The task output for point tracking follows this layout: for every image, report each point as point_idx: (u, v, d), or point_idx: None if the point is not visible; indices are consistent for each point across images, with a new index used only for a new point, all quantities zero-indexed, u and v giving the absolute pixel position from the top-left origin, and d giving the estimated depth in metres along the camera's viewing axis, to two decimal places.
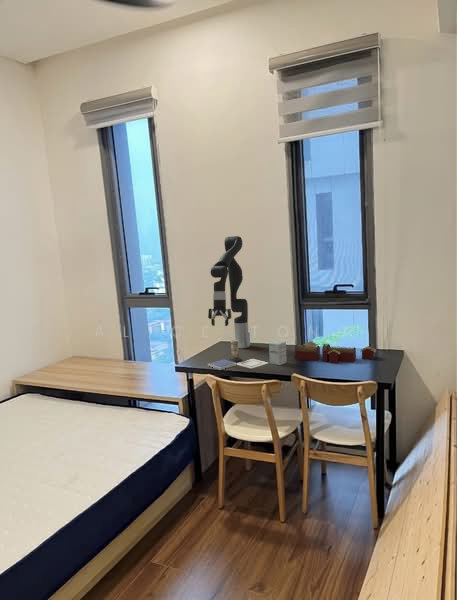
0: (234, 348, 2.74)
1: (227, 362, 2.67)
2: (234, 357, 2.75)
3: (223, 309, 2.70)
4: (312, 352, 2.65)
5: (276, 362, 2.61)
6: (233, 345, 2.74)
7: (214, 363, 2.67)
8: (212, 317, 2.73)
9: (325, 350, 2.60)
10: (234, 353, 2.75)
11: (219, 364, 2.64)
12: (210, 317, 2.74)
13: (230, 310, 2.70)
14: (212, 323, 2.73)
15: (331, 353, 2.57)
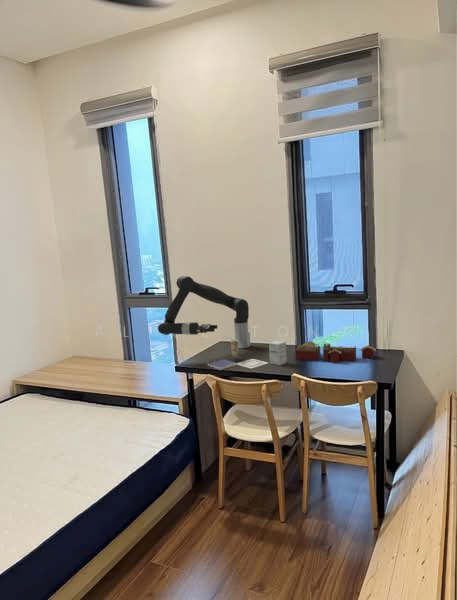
0: (234, 348, 2.74)
1: (227, 362, 2.67)
2: (234, 357, 2.75)
3: None
4: (313, 352, 2.65)
5: (276, 362, 2.61)
6: (233, 345, 2.74)
7: (214, 363, 2.67)
8: None
9: (326, 350, 2.61)
10: (234, 353, 2.75)
11: (219, 364, 2.64)
12: (209, 327, 2.83)
13: (198, 330, 2.71)
14: (215, 328, 2.81)
15: (332, 353, 2.58)
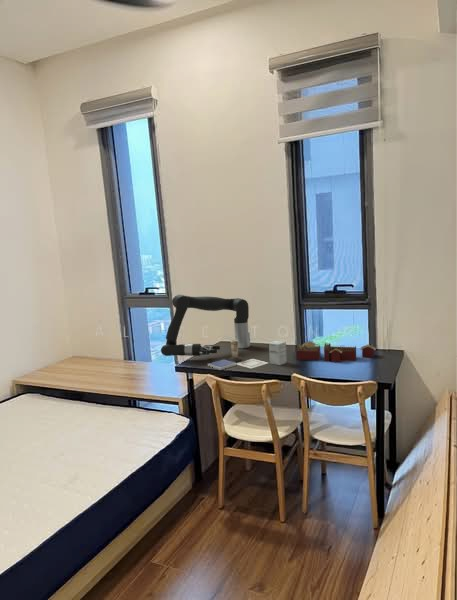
0: (234, 348, 2.74)
1: (227, 362, 2.67)
2: (234, 357, 2.75)
3: None
4: (314, 351, 2.65)
5: (276, 362, 2.61)
6: (233, 345, 2.74)
7: (214, 363, 2.67)
8: (212, 349, 2.84)
9: (327, 349, 2.62)
10: (234, 353, 2.75)
11: (219, 364, 2.64)
12: None
13: (200, 352, 2.73)
14: None
15: (333, 352, 2.59)
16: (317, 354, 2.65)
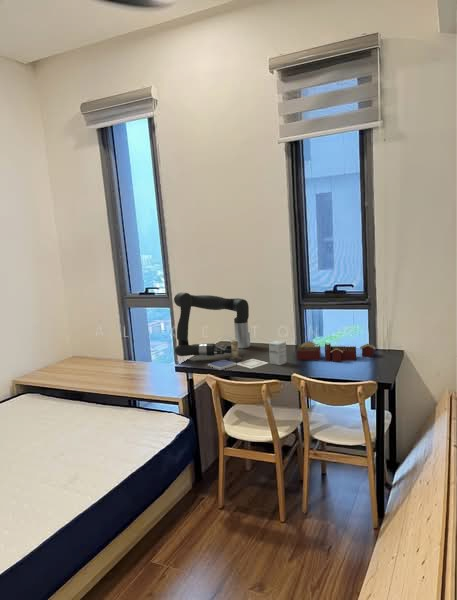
0: (234, 348, 2.74)
1: (227, 362, 2.67)
2: (234, 357, 2.75)
3: None
4: (314, 351, 2.66)
5: (276, 362, 2.61)
6: (233, 345, 2.74)
7: (214, 363, 2.67)
8: None
9: (328, 349, 2.62)
10: (234, 353, 2.75)
11: (219, 364, 2.64)
12: None
13: (215, 351, 2.72)
14: None
15: (334, 352, 2.60)
16: (318, 354, 2.65)
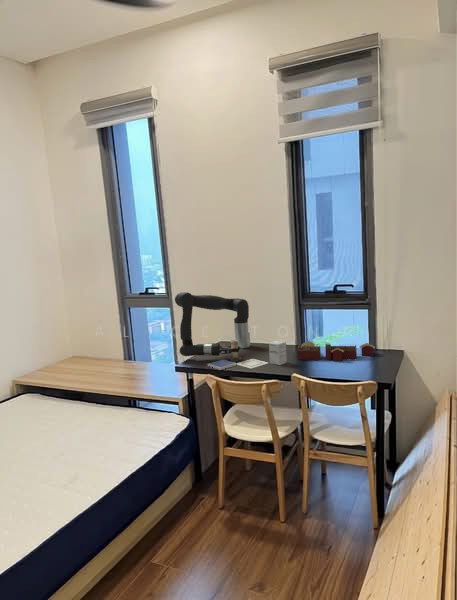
0: None
1: (227, 362, 2.67)
2: (234, 357, 2.75)
3: None
4: (315, 351, 2.66)
5: (276, 362, 2.61)
6: (233, 345, 2.74)
7: (214, 363, 2.67)
8: None
9: (328, 349, 2.63)
10: (234, 353, 2.75)
11: (219, 364, 2.64)
12: None
13: (223, 351, 2.71)
14: None
15: (335, 351, 2.61)
16: (318, 354, 2.66)
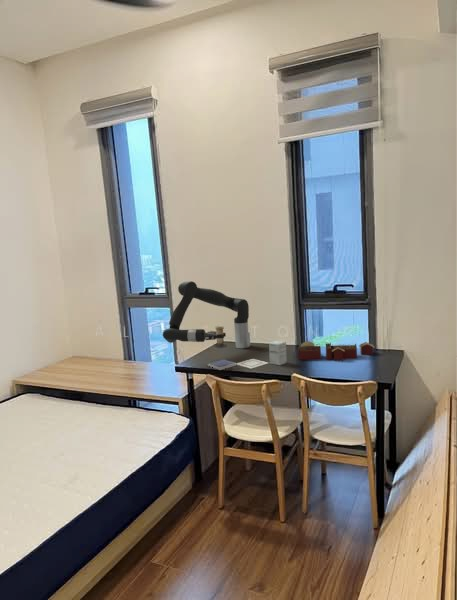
0: None
1: (227, 362, 2.67)
2: (219, 344, 2.63)
3: (205, 338, 2.63)
4: (316, 351, 2.66)
5: (276, 362, 2.61)
6: (218, 331, 2.62)
7: (214, 363, 2.67)
8: None
9: (329, 348, 2.64)
10: (219, 339, 2.63)
11: (219, 364, 2.64)
12: None
13: (207, 337, 2.60)
14: None
15: (336, 351, 2.62)
16: (319, 353, 2.66)
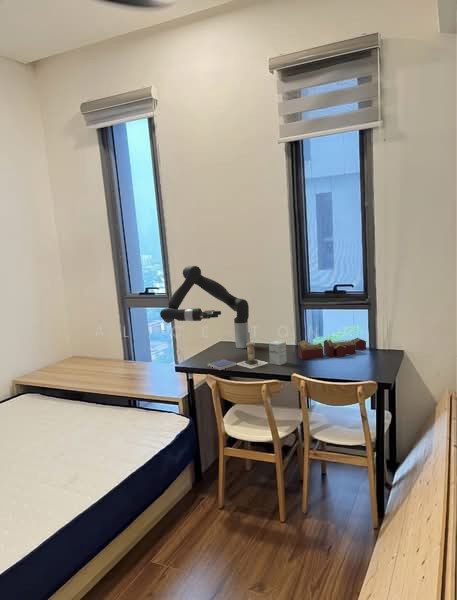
0: (250, 351, 2.64)
1: (227, 362, 2.67)
2: (250, 360, 2.65)
3: None
4: (318, 349, 2.70)
5: (276, 362, 2.61)
6: (249, 348, 2.64)
7: (214, 363, 2.67)
8: None
9: (331, 345, 2.70)
10: (250, 356, 2.64)
11: (219, 364, 2.64)
12: (213, 313, 2.75)
13: (201, 316, 2.64)
14: (218, 314, 2.73)
15: (339, 347, 2.68)
16: (321, 351, 2.70)
